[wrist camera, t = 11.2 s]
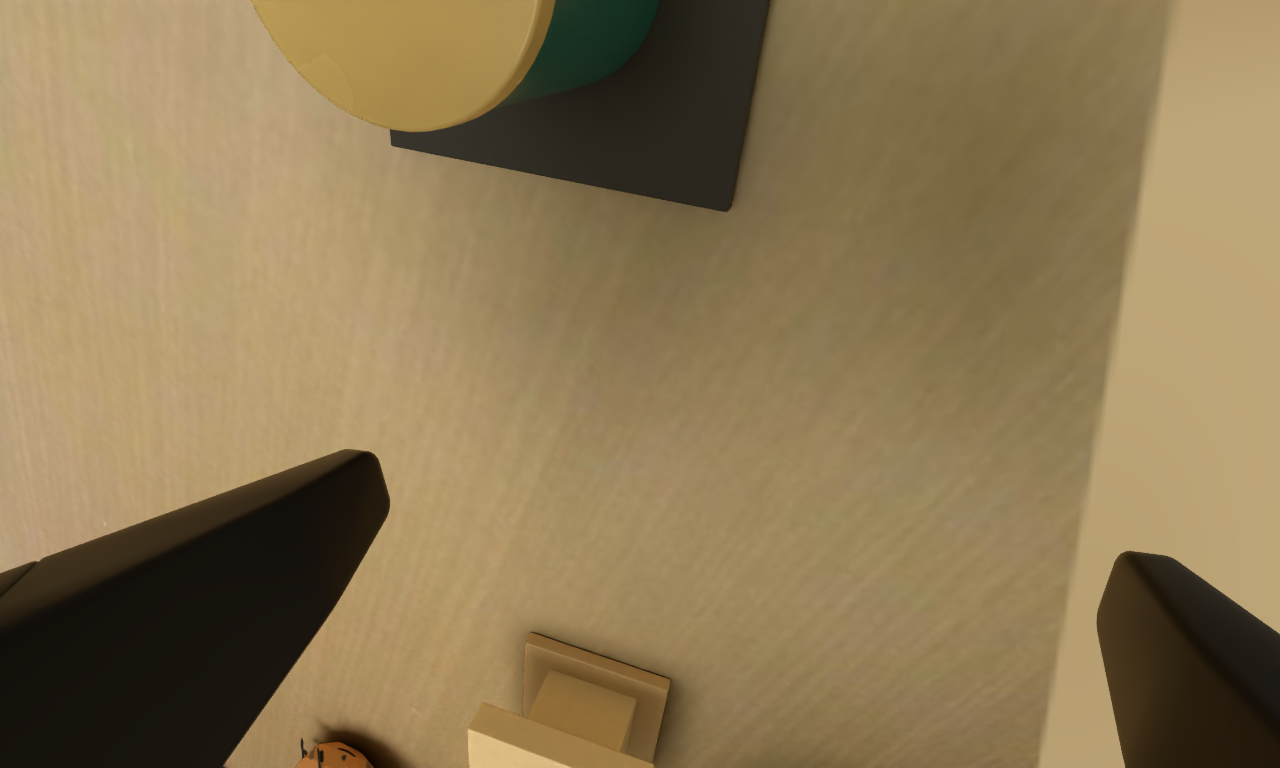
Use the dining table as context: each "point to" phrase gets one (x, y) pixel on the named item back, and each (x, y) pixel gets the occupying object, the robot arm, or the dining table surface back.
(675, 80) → the mat
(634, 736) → the stand
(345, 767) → the toy
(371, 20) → the tea tin
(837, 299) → the dining table surface
